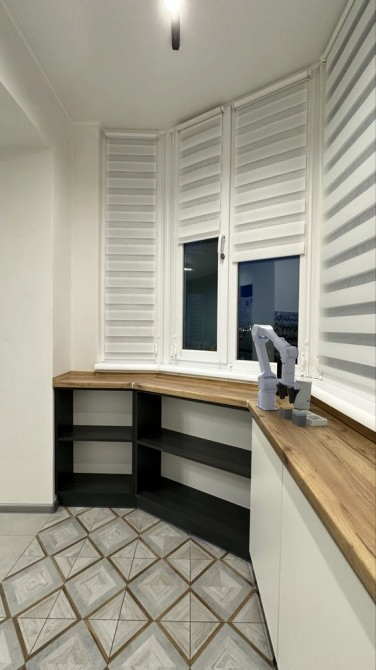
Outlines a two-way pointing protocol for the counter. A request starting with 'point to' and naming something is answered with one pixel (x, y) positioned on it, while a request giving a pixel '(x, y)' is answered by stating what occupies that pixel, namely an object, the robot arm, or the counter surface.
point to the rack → (314, 419)
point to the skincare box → (303, 394)
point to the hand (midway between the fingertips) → (286, 401)
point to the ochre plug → (286, 411)
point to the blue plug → (299, 418)
